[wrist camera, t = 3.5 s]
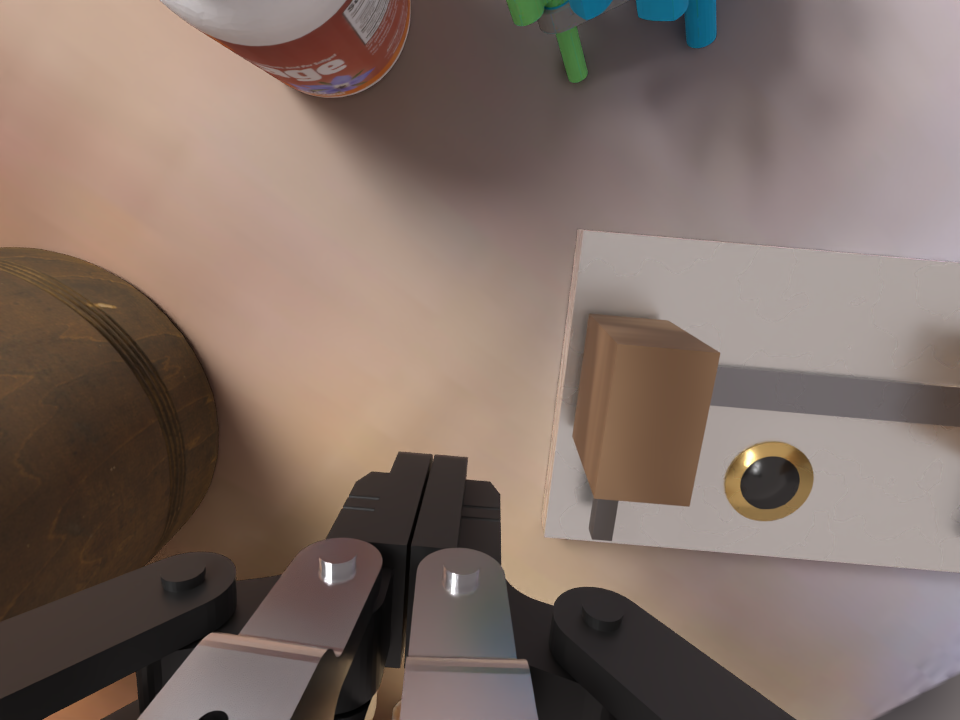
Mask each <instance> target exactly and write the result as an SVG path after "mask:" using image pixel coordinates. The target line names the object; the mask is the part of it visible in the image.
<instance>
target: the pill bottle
mask: <svg viewBox="0 0 960 720" xmlns="http://www.w3.org/2000/svg"><path fill="white" fill-rule="evenodd" d="M160 1H161V2H162V3H163V4H164V5H166V6H167V7H168V8H169V9H170V10H171V11H173V12H174V13H175V14H177V15H178V16H179V17H181V18H182V19H183V20H185V21H186V22H187V23H189V24H190V25H192V26H193V27H195V28H196V29H198V30H199V31H201V32H203V33H204V34H206V35H207V36H209V37H210V38H212V39H214V40H215V41H217V42H218V43H220V44H222V45H223V46H225V47H226V48H228V49H230V50H231V51H233V52H234V53H236V54H238V55H239V56H241V57H243V58H244V59H245V60H247V61H249V62H251V63H252V64H254V65H256V66H257V67H259V68H261V69H262V70H264V71H265V72H267V73H269V74H270V75H272V76H273V77H275V78H277V79H278V80H280V81H281V82H283V83H285V84H286V85H288V86H290V87H292V88H294V89H296V90H298V91H300V92H303V93H306V94H309V95H313V96H317V97H325V98H336V97H344V96H349V95H353V94H356V93H359V92H361V91H364V90H366V89H368V88H369V87H371V86H373V85H374V84H376V83H377V82H378V81H380V80H381V79H382V78H383V77H384V76H385V75H386V74H387V73H388V72H389V71H390V69H391V68H392V67H393V66H394V64H395V62H396V61H397V59H398V58H399V56H400V54H401V52H402V50H403V47H404V44H405V41H406V39H407V35H408V31H409V26H410V17H411V0H160Z"/></svg>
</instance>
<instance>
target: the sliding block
mask: <svg viewBox="0 0 960 720" xmlns="http://www.w3.org/2000/svg"><path fill="white" fill-rule="evenodd" d="M719 358H720V352H718V351H717V350H715V349H713V348H712V347H710V346H709V345H707V344H705V343H704V342H702V341H701V340H699V339H697V338H696V337H694V336H693V335H691V334H689V333H688V332H686V331H684V330H683V329H681V328H680V327H678V326H676V325H675V324H673V323H672V322H670V321H668V320H658V319H647V318H635V317H624V316H612V315H601V314H589V317H588V324H587V332H586V339H585V346H584V354H583V361H582V368H581V376H580V383H579V390H578V398H577V405H576V412H575V420H574V427H573V434H572V437H573V440H574V443H575V446H576V449H577V451H578V454H579V457H580V460H581V463H582V465H583V468H584V471H585V474H586V477H587V479H588V482H589V485H590V488H591V491H592V493H593V502H592V509H591V515H590V522H589V532H590V535H591V538H592V540H604V541H612V538H613V532H614V526H615V520H616V514H617V508H618V501H628V502H640V503H651V504H663V505H674V506H686V507H690V502H691V497H692V492H693V487H694V482H695V477H696V472H697V467H698V462H699V457H700V452H701V447H702V442H703V438H704V433H705V428H706V423H707V418H708V413H709V408H710V403H711V398H712V393H713V388H714V383H715V378H716V373H717V368H718V363H719Z"/></svg>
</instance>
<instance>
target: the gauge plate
mask: <svg viewBox="0 0 960 720" xmlns="http://www.w3.org/2000/svg"><path fill="white" fill-rule="evenodd" d="M589 314H601V315H612V316H624V317H635V318H647V319H658V320H668V321H670V322H672V323H673V324H675V325H676V326H678V327H680V328H681V329H683V330H684V331H686V332H688V333H689V334H691V335H693V336H694V337H696V338H697V339H699V340H701V341H702V342H704V343H705V344H707V345H709V346H710V347H712V348H713V349H715V350H717V351H718V352H720V358H719V363H718V368H717V373H716V378H715V383H714V388H713V393H712V398H711V403H710V408H709V413H708V418H707V423H706V428H705V433H704V438H703V442H702V447H701V452H700V457H699V462H698V467H697V472H696V477H695V482H694V487H693V492H692V497H691V502H690V507H686V506H674V505H663V504H651V503H640V502H628V501H618V508H617V514H616V520H615V526H614V532H613V538H612V541H604V540H592V538H591V535H590V532H589V522H590V515H591V509H592V502H593V493H592V491H591V488H590V485H589V482H588V479H587V477H586V474H585V471H584V468H583V465H582V463H581V460H580V457H579V454H578V451H577V449H576V446H575V443H574V440H573V437H572V434H573V427H574V420H575V412H576V405H577V398H578V390H579V383H580V376H581V368H582V361H583V354H584V346H585V339H586V332H587V324H588V317H589ZM541 521H542V527H543V533H544V537H549V538H560V539H572V540H584V541H595V542H607V543H619V544H630V545H642V546H654V547H665V548H677V549H689V550H700V551H712V552H724V553H735V554H747V555H758V556H770V557H782V558H793V559H805V560H817V561H828V562H840V563H852V564H863V565H875V566H887V567H898V568H910V569H922V570H933V571H945V572H956V573H960V262H949V261H937V260H926V259H914V258H903V257H892V256H880V255H869V254H857V253H846V252H834V251H823V250H811V249H800V248H788V247H777V246H765V245H754V244H743V243H731V242H720V241H708V240H697V239H685V238H674V237H662V236H651V235H639V234H628V233H617V232H605V231H594V230H582V229H578V231H577V239H576V247H575V255H574V263H573V271H572V279H571V287H570V295H569V302H568V310H567V318H566V326H565V334H564V342H563V350H562V358H561V366H560V374H559V382H558V390H557V398H556V405H555V413H554V421H553V429H552V437H551V445H550V453H549V461H548V469H547V477H546V485H545V493H544V500H543V508H542V516H541Z"/></svg>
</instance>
